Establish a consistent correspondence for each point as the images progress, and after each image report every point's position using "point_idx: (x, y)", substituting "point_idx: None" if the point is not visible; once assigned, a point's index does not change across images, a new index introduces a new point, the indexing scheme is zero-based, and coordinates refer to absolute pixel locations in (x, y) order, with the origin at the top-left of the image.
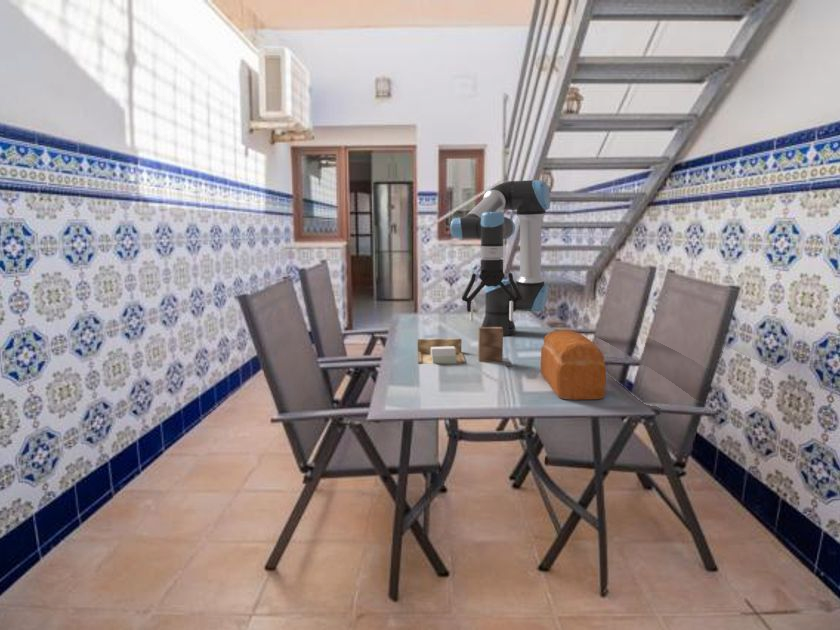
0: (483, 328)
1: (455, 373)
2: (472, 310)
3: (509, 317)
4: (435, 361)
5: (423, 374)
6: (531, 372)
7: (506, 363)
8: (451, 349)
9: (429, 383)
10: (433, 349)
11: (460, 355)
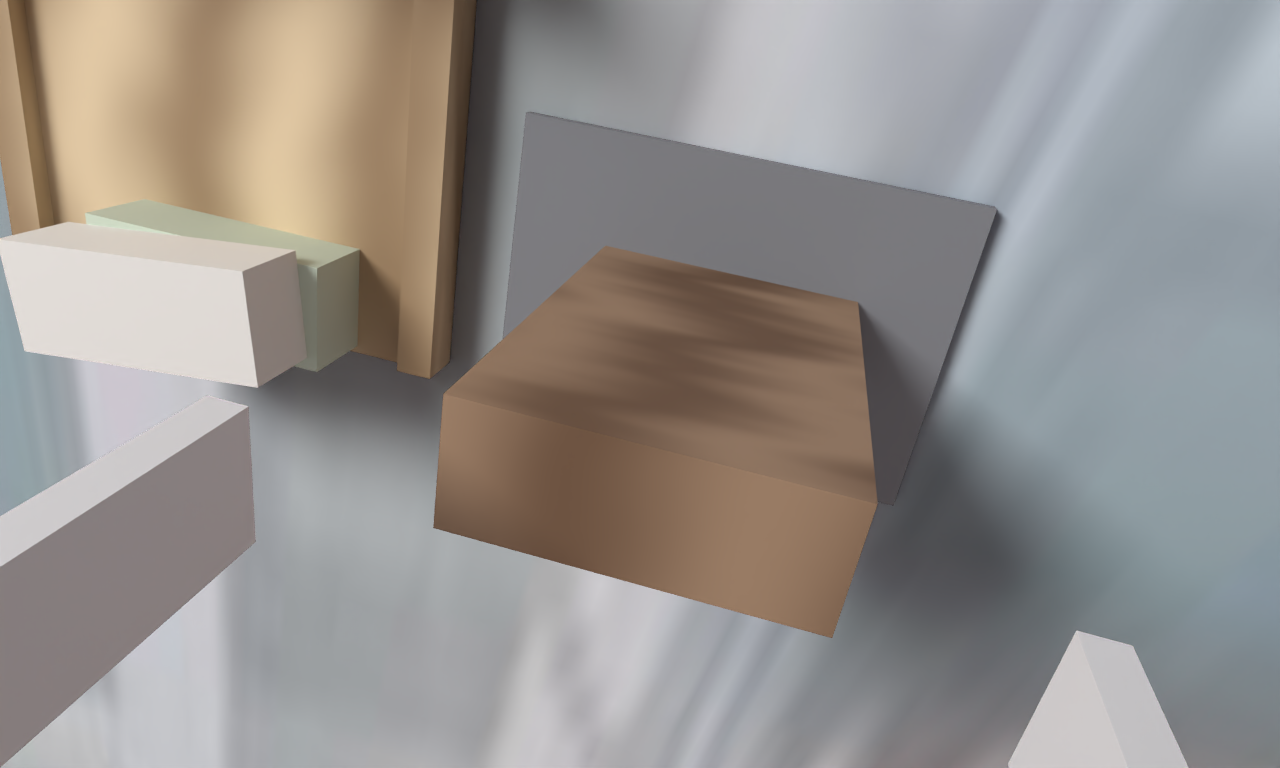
0: (497, 532)
1: (342, 533)
2: (54, 703)
3: (1079, 694)
4: None
5: None
6: (963, 698)
7: None
8: (223, 378)
9: (169, 668)
10: (41, 351)
11: (417, 123)
